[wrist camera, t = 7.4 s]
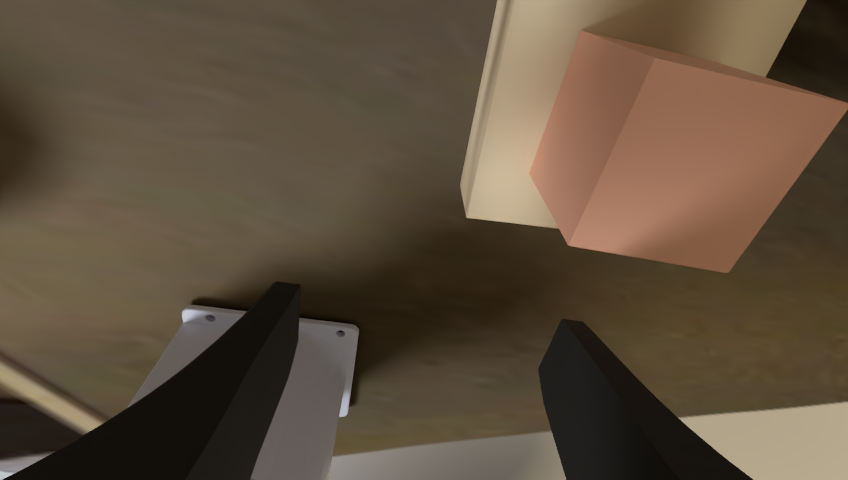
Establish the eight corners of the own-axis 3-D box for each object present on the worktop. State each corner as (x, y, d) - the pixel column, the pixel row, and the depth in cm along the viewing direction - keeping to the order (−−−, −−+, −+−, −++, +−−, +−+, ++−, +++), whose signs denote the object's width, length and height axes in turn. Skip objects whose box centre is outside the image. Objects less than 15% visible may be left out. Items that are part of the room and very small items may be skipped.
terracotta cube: (528, 173, 16) (568, 245, 12) (581, 30, 14) (654, 58, 9) (649, 196, 17) (727, 273, 13) (721, 63, 14) (851, 104, 10)
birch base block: (459, 181, 20) (466, 217, 17) (504, -46, 15) (525, -51, 12) (639, 204, 21) (676, 242, 18) (735, -6, 16) (807, -1, 13)
